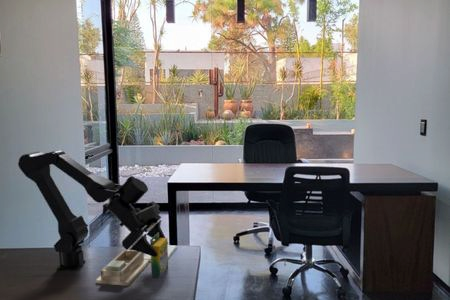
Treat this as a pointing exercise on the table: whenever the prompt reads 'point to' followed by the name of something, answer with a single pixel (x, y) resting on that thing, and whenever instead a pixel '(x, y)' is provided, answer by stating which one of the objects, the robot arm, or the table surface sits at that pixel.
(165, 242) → the crayon box
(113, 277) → the organizer
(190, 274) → the table surface
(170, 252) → the external hard drive
